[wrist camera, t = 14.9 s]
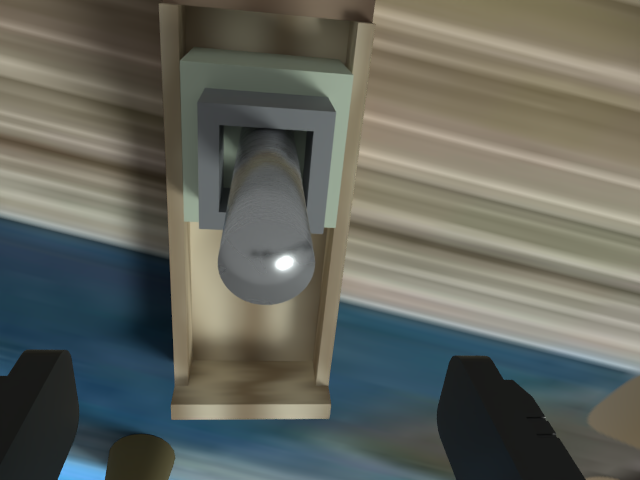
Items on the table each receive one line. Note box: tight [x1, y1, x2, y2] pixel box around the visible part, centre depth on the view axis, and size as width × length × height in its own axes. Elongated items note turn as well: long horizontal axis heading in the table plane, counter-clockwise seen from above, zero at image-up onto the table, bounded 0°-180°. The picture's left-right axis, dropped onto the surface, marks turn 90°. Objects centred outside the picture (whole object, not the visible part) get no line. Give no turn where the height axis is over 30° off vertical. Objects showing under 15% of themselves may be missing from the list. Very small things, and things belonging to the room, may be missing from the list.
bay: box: [159, 0, 376, 420], centre depth 35 cm, size 12×30×6 cm, turn 175°
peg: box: [218, 127, 315, 305], centre depth 22 cm, size 3×3×14 cm
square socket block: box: [180, 47, 354, 234], centre depth 30 cm, size 9×9×10 cm
